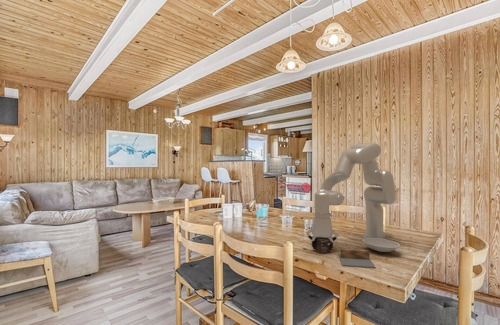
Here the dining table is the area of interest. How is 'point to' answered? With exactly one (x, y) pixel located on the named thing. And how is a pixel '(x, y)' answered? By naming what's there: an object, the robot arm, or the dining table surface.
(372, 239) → the dish
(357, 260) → the rubber mat
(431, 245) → the dining table surface
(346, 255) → the walnut rail
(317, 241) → the box
